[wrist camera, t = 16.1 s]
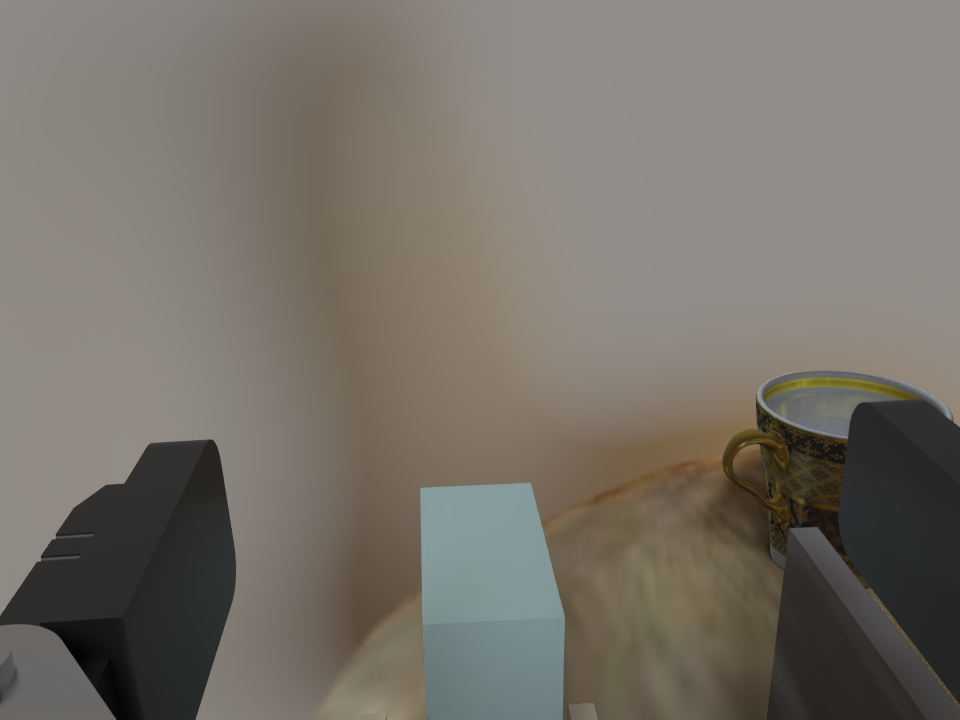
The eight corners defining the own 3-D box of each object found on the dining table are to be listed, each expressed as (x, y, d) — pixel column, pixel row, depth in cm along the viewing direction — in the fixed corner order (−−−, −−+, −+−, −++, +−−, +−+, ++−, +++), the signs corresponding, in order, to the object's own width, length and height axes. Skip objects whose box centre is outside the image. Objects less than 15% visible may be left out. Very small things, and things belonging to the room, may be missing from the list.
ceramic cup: (839, 504, 60) (859, 360, 56) (965, 587, 51) (998, 422, 47) (665, 545, 55) (675, 391, 52) (770, 643, 46) (790, 466, 43)
